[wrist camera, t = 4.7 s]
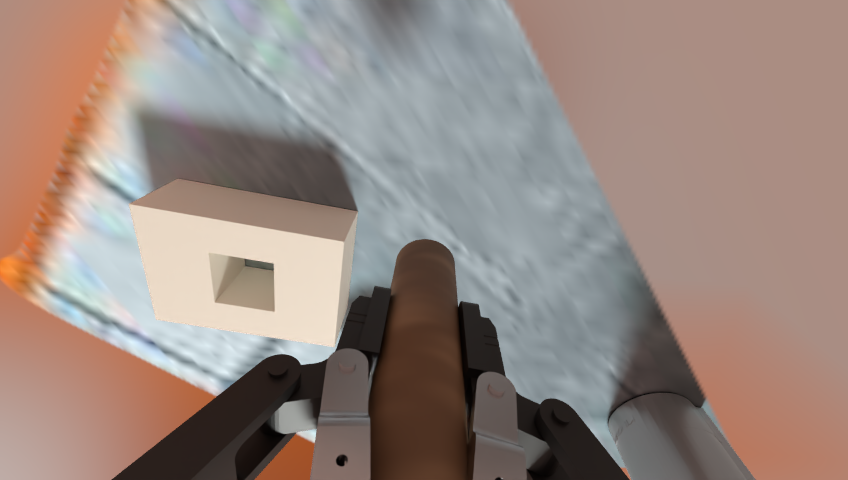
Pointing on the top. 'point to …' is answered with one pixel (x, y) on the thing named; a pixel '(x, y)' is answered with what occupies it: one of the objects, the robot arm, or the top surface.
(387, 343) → the peg
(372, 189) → the top surface
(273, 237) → the hole block
